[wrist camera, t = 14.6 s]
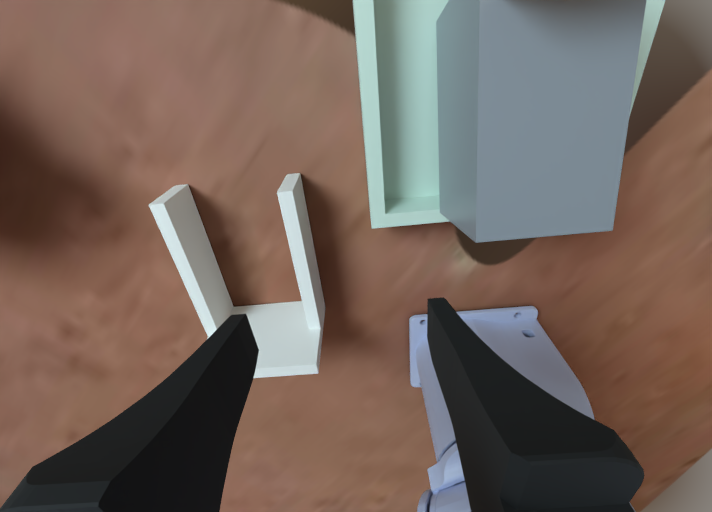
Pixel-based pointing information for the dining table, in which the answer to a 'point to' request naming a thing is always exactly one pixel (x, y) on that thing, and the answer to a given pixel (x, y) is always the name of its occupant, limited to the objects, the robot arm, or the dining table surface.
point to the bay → (268, 321)
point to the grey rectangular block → (534, 113)
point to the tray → (414, 104)
